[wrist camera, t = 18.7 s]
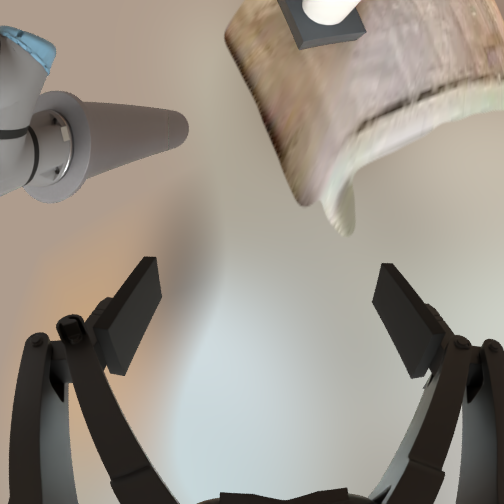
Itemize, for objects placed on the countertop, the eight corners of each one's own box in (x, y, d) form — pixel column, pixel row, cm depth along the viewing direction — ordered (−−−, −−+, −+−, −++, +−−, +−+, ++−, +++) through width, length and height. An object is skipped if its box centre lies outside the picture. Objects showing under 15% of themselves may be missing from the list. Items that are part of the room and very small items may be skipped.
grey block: (298, 50, 36) (303, 41, 32) (277, 0, 32) (279, -12, 28) (356, 40, 35) (366, 32, 30) (334, -9, 31) (341, -20, 26)
